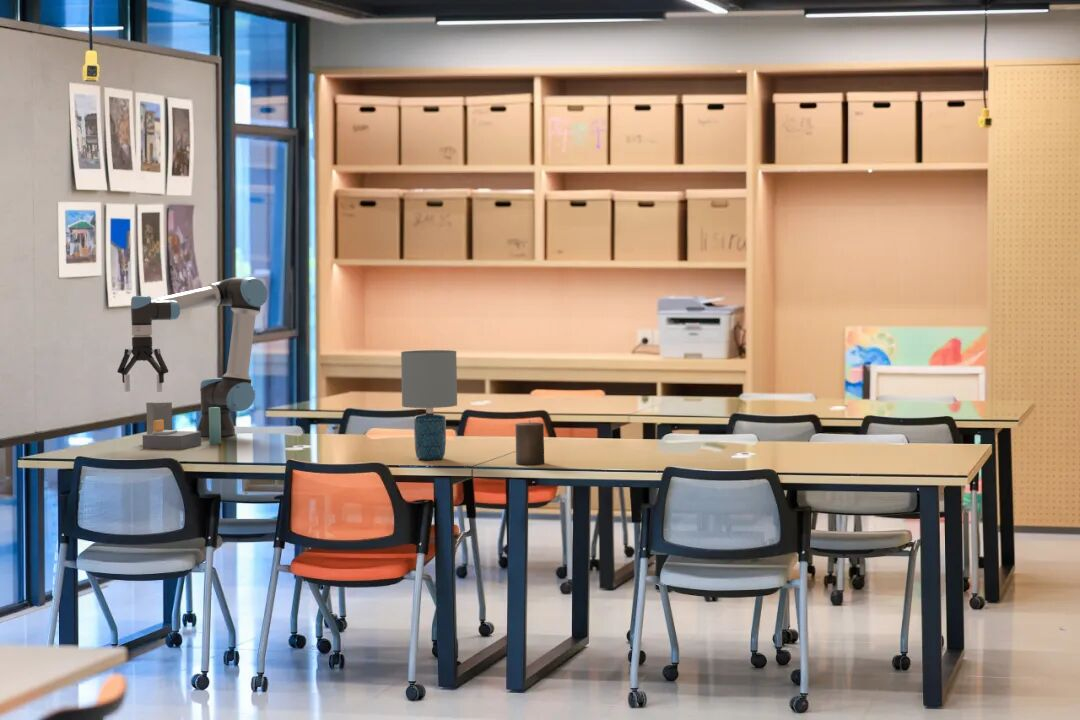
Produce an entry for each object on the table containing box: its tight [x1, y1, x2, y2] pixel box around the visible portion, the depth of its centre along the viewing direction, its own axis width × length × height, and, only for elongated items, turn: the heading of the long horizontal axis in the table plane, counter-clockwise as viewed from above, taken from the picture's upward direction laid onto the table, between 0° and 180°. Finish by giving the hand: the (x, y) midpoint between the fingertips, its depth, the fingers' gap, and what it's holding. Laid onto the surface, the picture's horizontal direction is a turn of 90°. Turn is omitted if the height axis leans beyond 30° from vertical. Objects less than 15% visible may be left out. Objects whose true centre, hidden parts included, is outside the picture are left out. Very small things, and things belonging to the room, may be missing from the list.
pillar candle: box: [514, 419, 545, 466], centre depth 539 cm, size 10×10×15 cm
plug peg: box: [208, 407, 222, 445], centre depth 614 cm, size 4×4×14 cm
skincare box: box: [145, 401, 173, 434], centre depth 623 cm, size 8×7×16 cm
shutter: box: [152, 420, 178, 434], centre depth 606 cm, size 7×7×5 cm
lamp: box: [400, 349, 458, 461], centre depth 555 cm, size 19×19×38 cm
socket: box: [141, 430, 202, 450], centre depth 606 cm, size 16×16×5 cm
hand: (143, 391), depth 607 cm, fingers open, 13 cm apart
